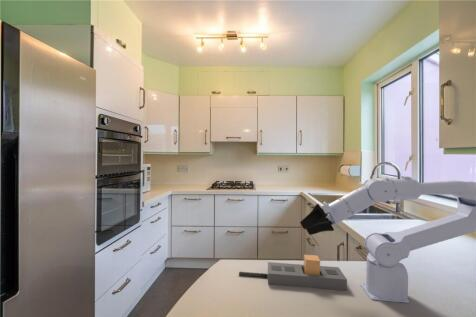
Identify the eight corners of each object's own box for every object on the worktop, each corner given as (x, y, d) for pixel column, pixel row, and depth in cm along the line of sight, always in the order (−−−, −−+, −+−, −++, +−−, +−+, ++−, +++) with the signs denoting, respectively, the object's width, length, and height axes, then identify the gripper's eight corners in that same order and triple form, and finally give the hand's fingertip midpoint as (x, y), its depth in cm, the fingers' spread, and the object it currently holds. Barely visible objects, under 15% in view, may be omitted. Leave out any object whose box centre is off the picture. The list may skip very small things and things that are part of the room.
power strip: (338, 276, 77) (338, 266, 77) (346, 290, 69) (347, 279, 69) (240, 269, 81) (240, 259, 81) (237, 281, 73) (237, 270, 73)
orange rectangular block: (316, 278, 76) (317, 255, 76) (319, 284, 72) (320, 260, 72) (303, 277, 77) (304, 254, 77) (305, 283, 73) (306, 259, 73)
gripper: (341, 202, 78) (303, 223, 81) (335, 185, 67) (292, 210, 69) (355, 222, 74) (315, 243, 76) (351, 207, 63) (304, 232, 65)
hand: (304, 228), depth 73 cm, fingers open, 7 cm apart
